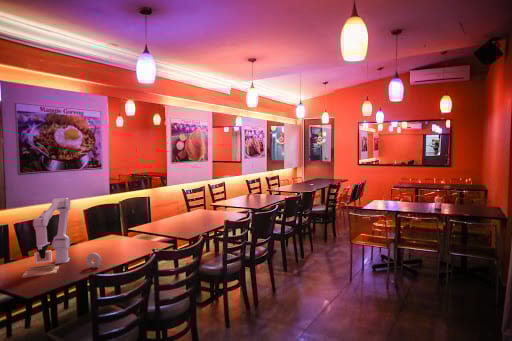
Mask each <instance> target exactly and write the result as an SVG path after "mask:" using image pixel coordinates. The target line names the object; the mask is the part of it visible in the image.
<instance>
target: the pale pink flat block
mask: <svg viewBox="0 0 512 341" xmlns="http://www.w3.org/2000/svg"><path fill="white" fill-rule="evenodd" d="M33 253H34V254H33V255H34V256H33V257H34V264H35V265H39V264H47V263H52V262H53V253H52V249H50V250H48V249H47V251H46V253H45V258H43V259H41V258H40V255H39V253H38V251H35V252H33Z"/></svg>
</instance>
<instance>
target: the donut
mask: <svg viewBox="0 0 512 341" xmlns="http://www.w3.org/2000/svg"><path fill="white" fill-rule="evenodd" d="M101 257H102V256H101V255H100V254H98V253H97V252H90V253H89V254H87V256H86V257H85V258H86V259H85V260H86V261H85V262H86V265H87V266H88V268H91V269H96V268H98V267H99V266H100V265H101V263H102V258H101ZM92 259H94V260H95V262H93V260H92Z"/></svg>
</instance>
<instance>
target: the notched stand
mask: <svg viewBox="0 0 512 341" xmlns="http://www.w3.org/2000/svg"><path fill="white" fill-rule="evenodd" d="M59 268H60V265H56V264H55V263H51V264H45V265H44V264H43V265H37V266H29V267H28V269H27V270H26V271H25V272H24V273H23V275H22V276H21V279H25V278H31V277H38V276H46V275H53V274H56V273H57V272H58V271H59Z"/></svg>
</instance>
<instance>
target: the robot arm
mask: <svg viewBox="0 0 512 341" xmlns="http://www.w3.org/2000/svg"><path fill="white" fill-rule="evenodd" d="M70 209H71V200H70V198H69V197H62V198H61V197H60V198H57V197H55V198H53V199H52V200H51V205H50V206H49V208H48V209H45V210H43V212H42V213H41V214H40V215H39V216H38V217H36V218H34V219H33V221H32V226H33V227H34V230H35V238H36V248H35V249H36V252H38V253H39V255H40V258H41V259H43V258H45V253H46V251H48V248H49V245H50V244H51V247H52V249H54V251H55V262H54V265H56V264H58V265H59V264H65V263H69V261H70V260H71V257H69V248H70V246H71V241H70V239H71V238H70V237H69V236H68V235H67V228H68V220H69V218H68V217H69V211H70ZM55 211H58V212H59V216H58V217H59V218H58V225H57V226H58V227H57V234H56V235H55V236H54V237H53V238H52V239H53V240H52V242H50V241H49V242H48V230H47V226H48V224H49V221H50V220H51V218H52V217H53V215H54V214H53V213H54V212H55Z"/></svg>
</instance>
